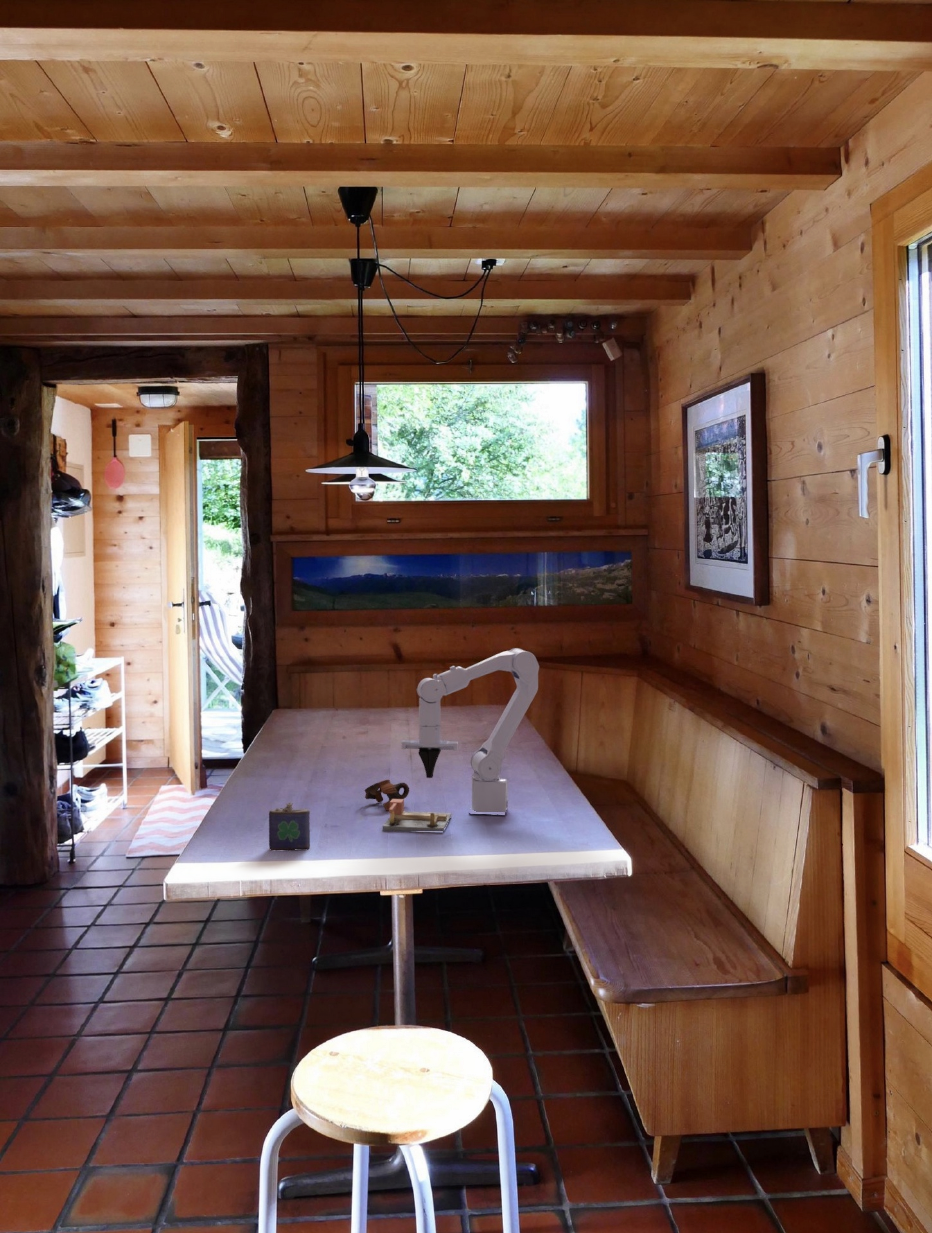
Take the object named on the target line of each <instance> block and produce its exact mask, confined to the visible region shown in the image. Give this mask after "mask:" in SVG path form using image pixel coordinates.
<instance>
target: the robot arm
mask: <svg viewBox="0 0 932 1233" xmlns="http://www.w3.org/2000/svg"><path fill="white" fill-rule="evenodd" d="M539 670H540V665H539V662H538V660H537V658H536V656H535V655H534V654H533V653H532V652H531V651H526V650H524V649H522V648H518V647H516V648H515V647H514V648H510V650H506V651H502V652H499V653H497V654H494V655H493V656H491V657H488V658H486V659H484V660H481V661H480V662H477V663H475V664H473V665H470V666H468V667H466V668H465V667H462V666H458V665H457V666H455V665H452V666H449V670H446V671H444V672H441V673H439V674H438V673H433V675H432V678H431V677H425V678H423V679H422V680H420V682H419V683H418V685H417V688H416V693H417V695H418V697H419V698H418V704H419V706H418V739H415V740H414V739H413V740H411V739H410V740H404V739H403V740H401V750H418V756H419V757H420V760H421V762H422V765H423V767H424V770H425V776H426V779H433V777H434V772H435V767H436V764H437V761H438V758H439V756H440V753H441V751H443V750H444V751H452V752H453V751H455V752H457V751H458V750H459V741H448V740H442V725H441V724H442V707H441V699H442V698H443V696H448V695H450V694H452V693H455V692H458V691H460V690H462V689H465V688H467V687H468V686H469V684H470V681H471V680H475V679H478V678H480V677H482V676H483V677H484V676H486V675H488V674H491V673H494V672H497V671H504V672H510V673H511V674H512V676H513V679H514V681H515V684H516V689H515V690H514V692H513V694H512V695H511V697H510V699H509V701H508V703H507V705H506V707H505V708H504V710H503V712H502V714H501V716H500V717H499V719H498V721H497V723H496V724H495V726H494V729H493V730H492V732H491V734H490V736H489V737H488V739H486V740H485V741H484V742H483V743H482V744H481V746H480V748H478V750H476V751H474V753H473V754H472V755H471V757H470V760H469V761H470V767H471V768H472V769H473V773H472V776H471V807H472V810H474V811H476V812H506V813H507V811H506V808H507V809H508V807H509V800H508V779H507V778H500V773H501V772H502V764H503V761H504V759H505V754H506V749H507V747H508V746H509V744H510V742H511V740H512V738H513V736H514V734H515V733H516V730H517V729H518V727H519V725H520V723H521V722H522V720H523V718H524V716H525V714H526V713H527V710H528V709H529V707H530V705H531V703H532V702H533V700H534V699H535V696H536V694H537V693H538V690H539Z"/></svg>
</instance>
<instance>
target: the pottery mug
mask: <svg viewBox="0 0 932 1233" xmlns="http://www.w3.org/2000/svg"><path fill="white" fill-rule="evenodd" d="M401 789H403V792H402V794H400V790H401ZM364 792H365V795H364V798H365V799H366V800H375V801H376V802H377V803H378V802H380V803H381V802H383V801H384V797H383V795H386V796H387V798H388V801H386V802H384V803H382V806H383V808H384V811H385V810H389V809H390V801H391V800H392V799H404V800H405V799H406V798H407V797H408V796H409V793H410V787H409V786H408V784H407V783H405V782H398V783H397V784H393V783H391V781H390V779H385V780H381V781H379V782H376V783H374V784H371V785H369V786H368V787H367V788H365V789H364Z"/></svg>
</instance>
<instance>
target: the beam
mask: <svg viewBox="0 0 932 1233" xmlns="http://www.w3.org/2000/svg"><path fill="white" fill-rule="evenodd" d="M435 813H436V812H435ZM435 813H430V814H421V813H402V814H394V818H397V819H424V820H430V825H431V826H434V825H435V824H436V823H437V821H438V820H446V819H447V814H435Z"/></svg>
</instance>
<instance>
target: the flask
mask: <svg viewBox="0 0 932 1233" xmlns="http://www.w3.org/2000/svg"><path fill="white" fill-rule="evenodd" d="M285 804H286V806H285V807H283V808H282V807H280V808H279V807H276V809H275V808H274V809H270V810H269V812H268V846H269V847H268V848H269V850H270V849H271V850H270V851H272V850H288V851H296V850H295V849H305V850H306V849H307V850H309V849H310V847H311V833H310V832H311V830H310V829H311V828H310V820H311V818H310V816H311V815H310V813H311V811H310V810H309V809H307V808H300V809H297V808H296V809H293V804H294V803H293V802H287V803H285ZM308 848H309V849H308Z"/></svg>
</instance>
